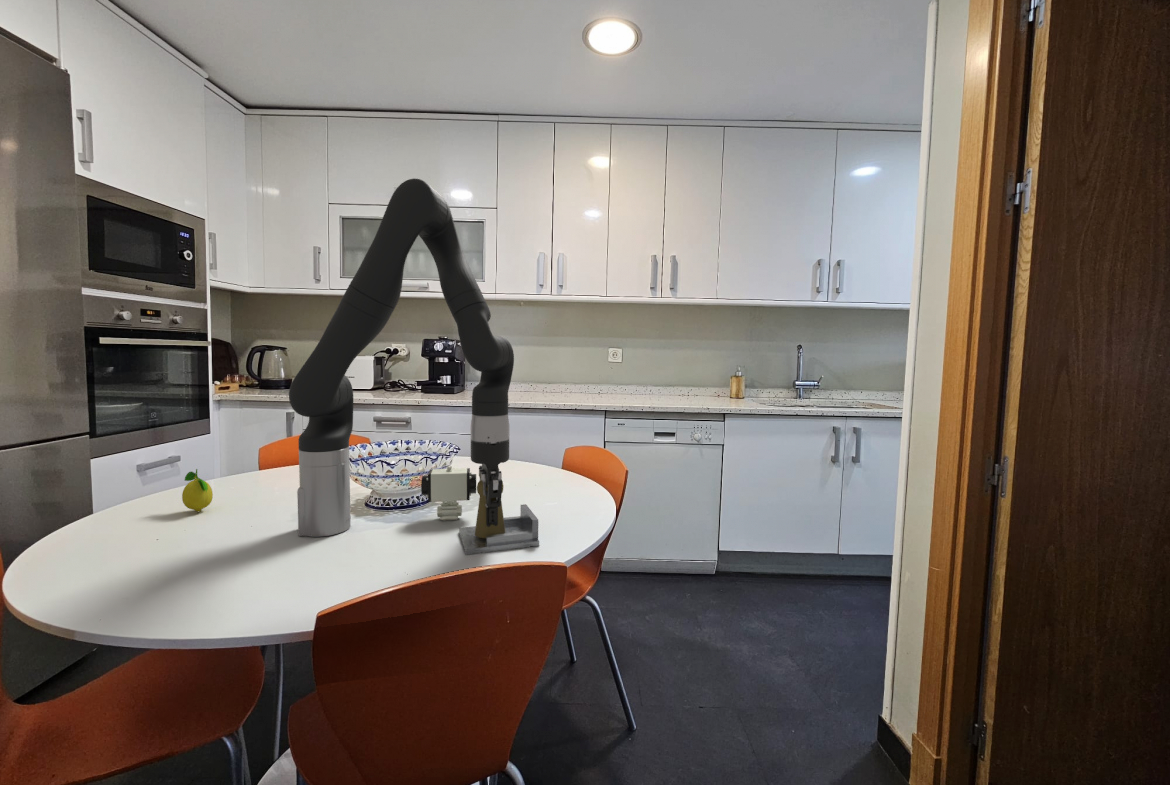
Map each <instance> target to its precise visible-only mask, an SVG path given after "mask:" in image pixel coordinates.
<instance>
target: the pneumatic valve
mask: <svg viewBox="0 0 1170 785" xmlns="http://www.w3.org/2000/svg"><path fill="white" fill-rule="evenodd" d="M420 484H421V485H420V486H421V487H420V488H421V490H420V491H421V496H423V497H424V496H426V499H427V502H428V503H435V502H437V503H438V502H442V503H440V504H439V505H438V506H437V508H436V514H437V516H436V517H437V518H439V520H440V521H441V522H445V521H446V522H447V521H457V520H459V517H461V516H462V514H463V506H462V505H461V504H460V503H459V501H462V502H463V501H470V500H471V496H472V495H473V494H474V495H475V494H477V474H476V473H472V472H471V468H470V467H467V468H466V467H465V468H453V466H452V465H450V466H449V465H447V468H433V469H432V468H431V469H429V471H428V473H427V475H422V477H421V482H420ZM459 504H460V505H459Z"/></svg>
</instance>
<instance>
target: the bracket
mask: <svg viewBox="0 0 1170 785" xmlns="http://www.w3.org/2000/svg"><path fill="white" fill-rule="evenodd" d="M519 514H520V515H519V516H508V517H504V525H505V534H496V535H486V538H480V537H477V536H476V535H475V529H476V525H475V526H466V527H465V526H464V527H458V534H459V537H460V540H461V543H463V544H462V546H464V547H463V549H465V550H464V553H465V552H466V553H465V555H466V554H468V555H474V554H473V553H477V554H482V553H481V552H485V553H490V552H489V551H493V552H499V551H498V550H502V551H507V550H506V549H510V550H516V549H515V548H518V549H524V548H523V547H527V548H531V547H530V546H535V547H540V540H539V518H538V517H537V516H536V515H535V513H534V512H533V511H532V509H530V507H529V506H528V505H527V504H524V503H523V504H520V513H519Z"/></svg>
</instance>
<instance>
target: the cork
mask: <svg viewBox="0 0 1170 785" xmlns="http://www.w3.org/2000/svg"><path fill="white" fill-rule="evenodd" d="M486 491H487V492H488V488H487V487H486ZM503 492H504V483H503V484H502V493H503ZM476 493H477V494H478V495H479V500H478V506H477V514H476V522H475V526H476V529H475V535H476V536H477V537H480V538H486V535H496V534H505V525H504V518H505V517H504V512H503V511H504V510H503V503H502V501H501V507H498V525H497V526H494V525H493V524H492V525H491V526H490V527H487V525H486V507H485V504H486V501H485V496H484V495H483V485H482V481H481V480H480V479H479V481H478V482H477V484H476ZM491 501H496V499H495V498H491Z"/></svg>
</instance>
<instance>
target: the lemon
mask: <svg viewBox="0 0 1170 785" xmlns="http://www.w3.org/2000/svg"><path fill="white" fill-rule="evenodd" d="M184 481H186V482H188V483H187V484H186V485H185V487H184V488H183V490H182V492H181V493H182V494H181V499H182V503H183V505H184V506H185V507H186V508H187V509H190V510H193V511H194V512H196V511H200V512H201V511H202V510H203V509H205V508H207V507H208V506H209V505H210V504H211V503H212V502H213V501H212V500H213V496H214V494H213V489H212V486H211V485H210V484H209V483H208V482H207V481H205V480H203V479H202V478H199V477H198V468H196V469H195V472H194V471H189V472H187V473H186V475H185V477H184Z"/></svg>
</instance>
